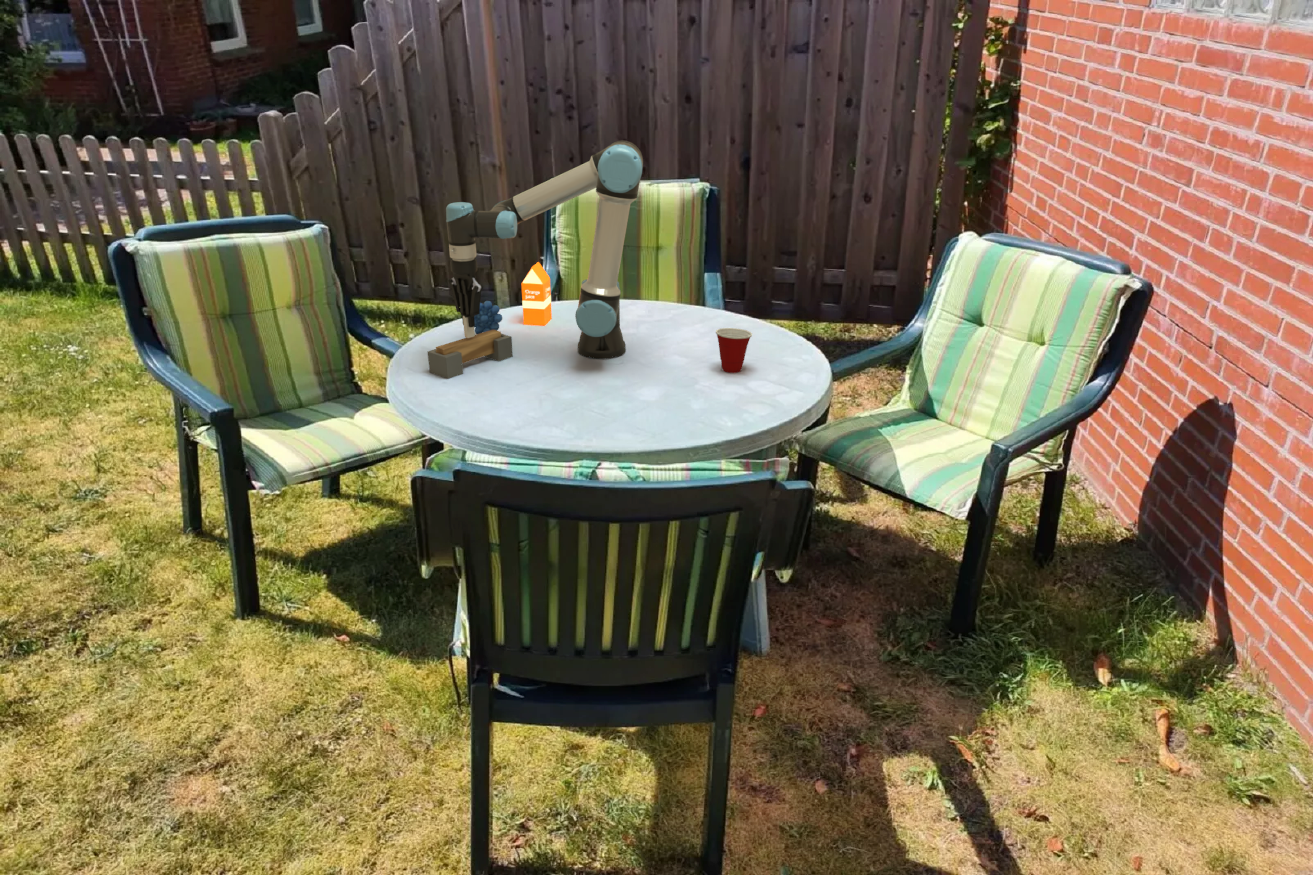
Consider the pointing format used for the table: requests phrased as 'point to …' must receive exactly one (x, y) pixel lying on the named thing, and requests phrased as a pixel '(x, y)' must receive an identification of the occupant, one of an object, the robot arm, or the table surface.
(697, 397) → the table surface
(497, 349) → the end caps
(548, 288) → the orange juice
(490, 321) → the grapes
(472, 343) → the slat
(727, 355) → the plastic cup
